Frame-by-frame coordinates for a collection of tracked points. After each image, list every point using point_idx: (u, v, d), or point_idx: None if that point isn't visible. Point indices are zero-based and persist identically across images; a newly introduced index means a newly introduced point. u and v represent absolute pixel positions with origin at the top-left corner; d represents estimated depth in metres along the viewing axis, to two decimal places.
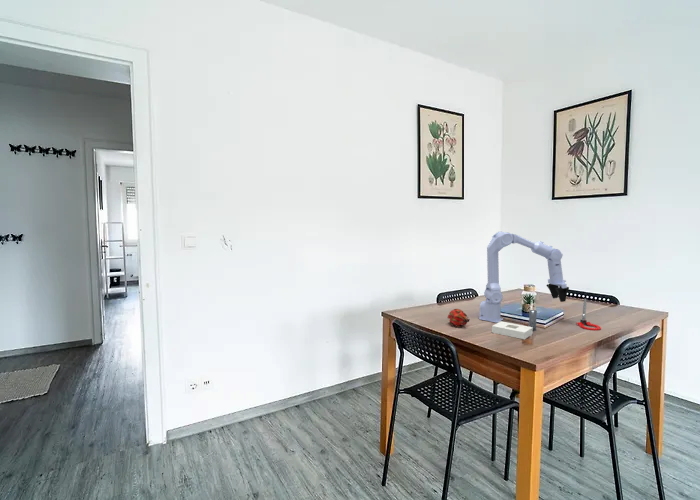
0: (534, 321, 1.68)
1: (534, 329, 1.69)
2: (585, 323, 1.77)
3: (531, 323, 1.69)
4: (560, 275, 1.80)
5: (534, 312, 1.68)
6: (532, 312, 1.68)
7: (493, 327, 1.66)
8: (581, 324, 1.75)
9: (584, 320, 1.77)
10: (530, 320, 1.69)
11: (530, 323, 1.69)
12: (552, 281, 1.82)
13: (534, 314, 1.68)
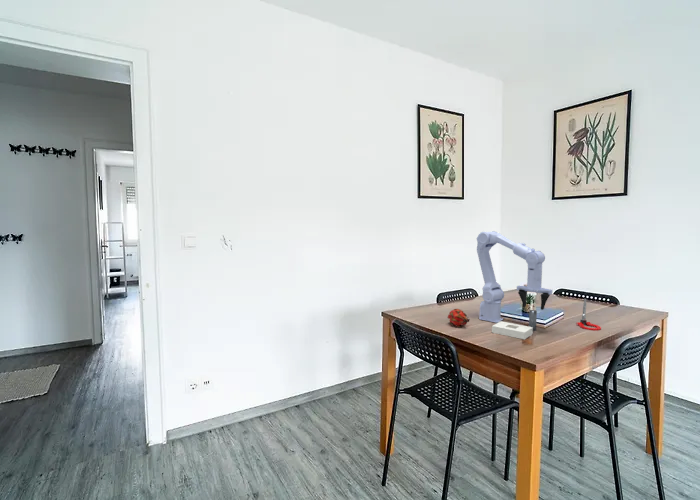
0: (534, 321, 1.68)
1: (534, 329, 1.69)
2: (585, 323, 1.77)
3: (531, 323, 1.69)
4: (527, 280, 1.69)
5: (534, 312, 1.68)
6: (532, 312, 1.68)
7: (493, 327, 1.66)
8: (581, 324, 1.75)
9: (584, 320, 1.77)
10: (530, 320, 1.69)
11: (530, 323, 1.69)
12: None
13: (534, 314, 1.68)
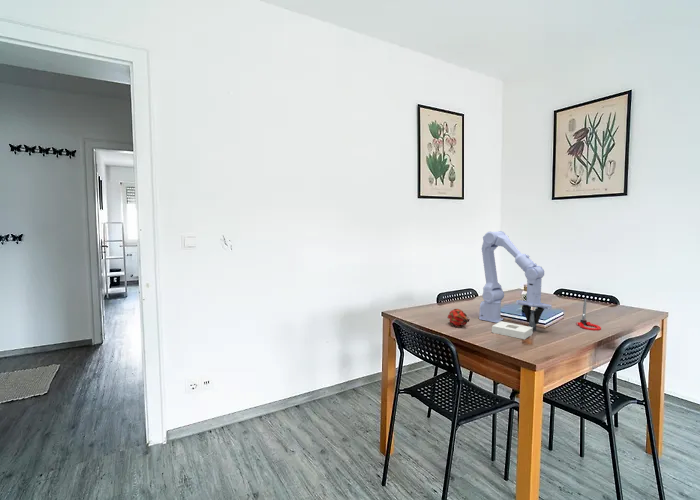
0: (534, 321, 1.68)
1: (534, 329, 1.69)
2: (585, 323, 1.77)
3: (531, 323, 1.69)
4: None
5: (534, 312, 1.68)
6: (532, 312, 1.68)
7: (493, 327, 1.66)
8: (581, 324, 1.75)
9: (584, 320, 1.77)
10: (530, 320, 1.69)
11: (530, 323, 1.69)
12: None
13: (534, 314, 1.68)
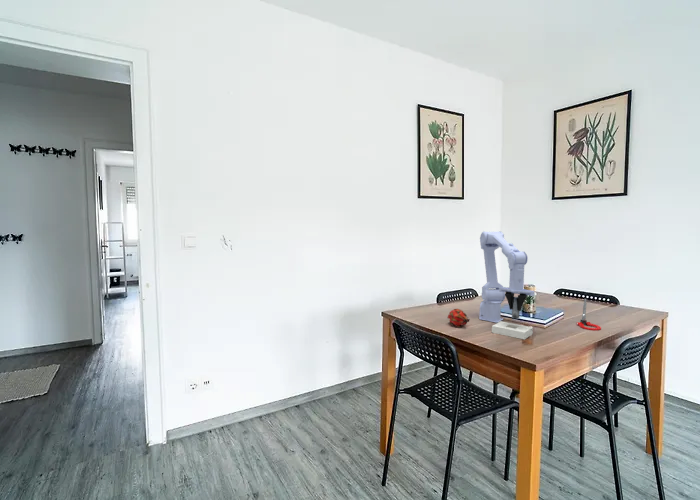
0: (517, 308, 1.64)
1: (517, 316, 1.64)
2: (585, 323, 1.77)
3: (514, 310, 1.64)
4: (509, 281, 1.65)
5: (517, 299, 1.64)
6: (514, 299, 1.64)
7: (493, 327, 1.66)
8: (581, 324, 1.75)
9: (584, 320, 1.77)
10: (513, 307, 1.65)
11: (513, 310, 1.65)
12: None
13: (517, 301, 1.64)
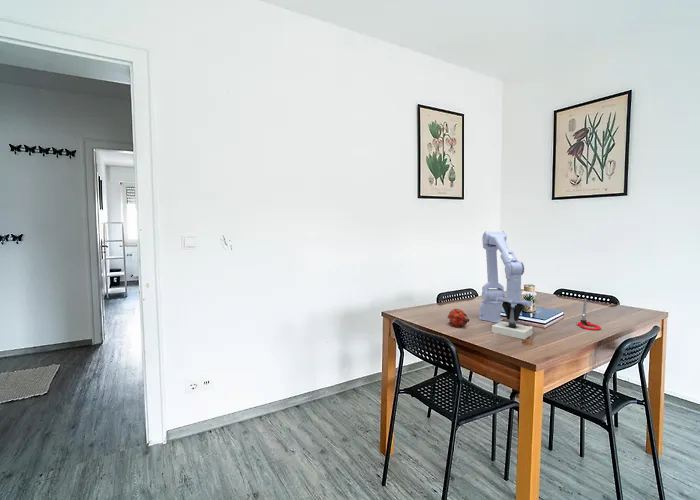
0: (514, 318, 1.64)
1: (514, 326, 1.64)
2: (585, 323, 1.77)
3: (511, 320, 1.64)
4: (506, 291, 1.65)
5: (514, 309, 1.63)
6: (511, 309, 1.64)
7: (493, 327, 1.66)
8: (581, 324, 1.75)
9: (584, 320, 1.77)
10: (510, 317, 1.65)
11: (510, 320, 1.65)
12: None
13: (514, 311, 1.63)
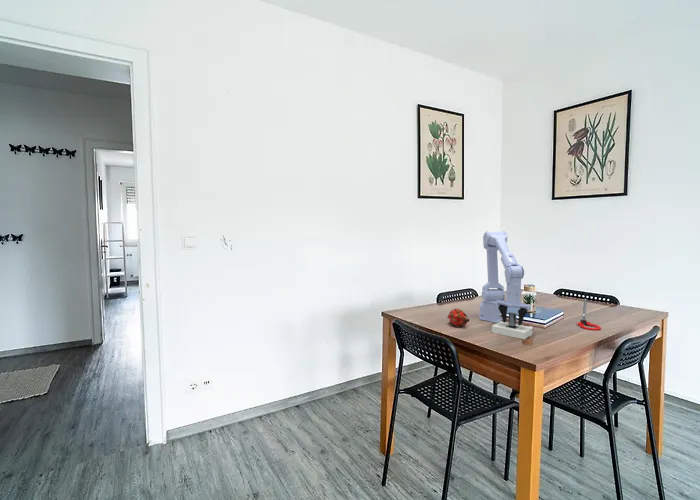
0: (513, 324, 1.64)
1: None
2: (585, 323, 1.77)
3: (511, 326, 1.64)
4: (506, 295, 1.65)
5: (513, 315, 1.64)
6: (511, 315, 1.64)
7: (493, 327, 1.66)
8: (581, 324, 1.75)
9: (584, 320, 1.77)
10: (509, 323, 1.65)
11: (509, 326, 1.65)
12: None
13: (513, 317, 1.64)
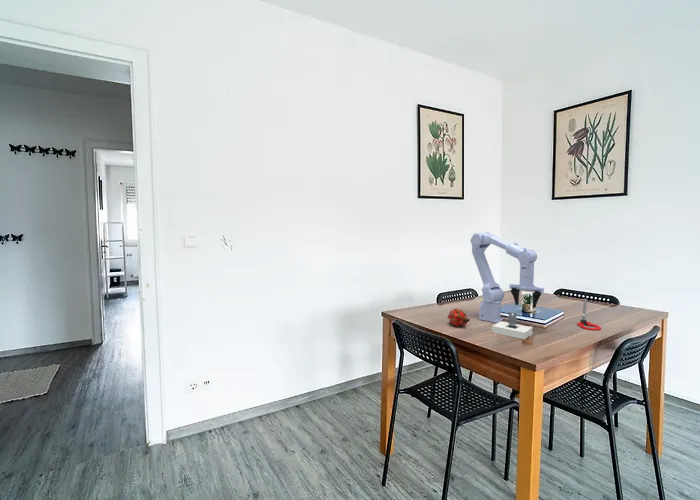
0: (513, 324, 1.64)
1: None
2: (585, 323, 1.77)
3: (511, 326, 1.64)
4: None
5: (513, 315, 1.64)
6: (511, 315, 1.64)
7: (493, 327, 1.66)
8: (581, 324, 1.75)
9: (584, 320, 1.77)
10: (509, 323, 1.65)
11: (509, 326, 1.65)
12: None
13: (513, 317, 1.64)
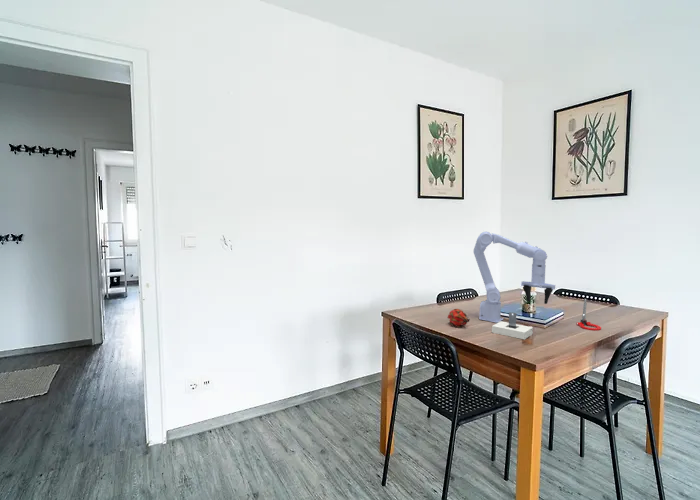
0: (513, 324, 1.64)
1: None
2: (585, 323, 1.77)
3: (511, 326, 1.64)
4: None
5: (513, 315, 1.64)
6: (511, 315, 1.64)
7: (493, 327, 1.66)
8: (581, 324, 1.75)
9: (584, 320, 1.77)
10: (509, 323, 1.65)
11: (509, 326, 1.65)
12: None
13: (513, 317, 1.64)
